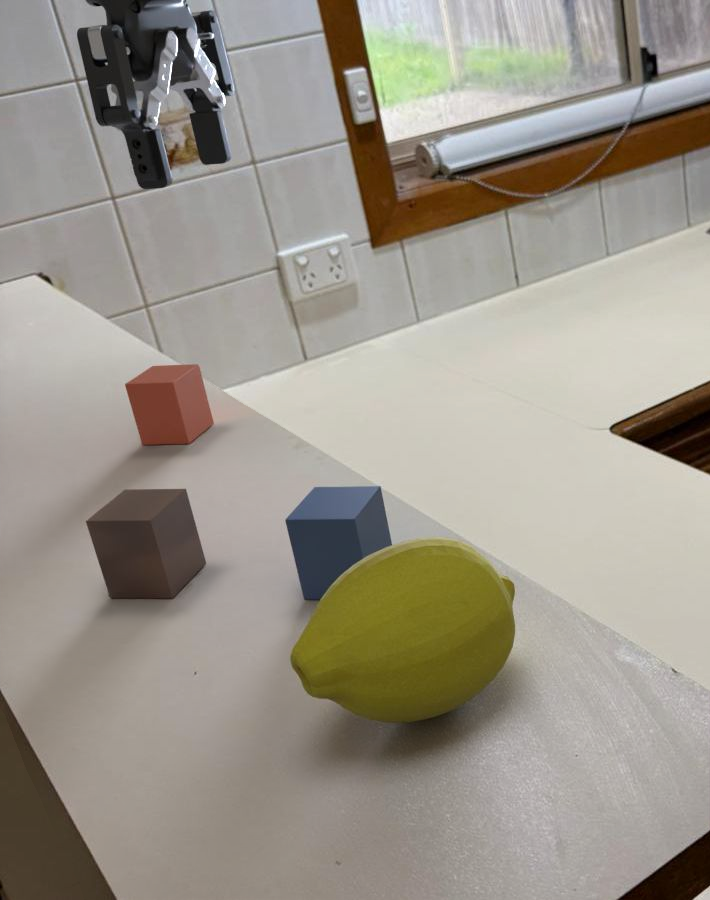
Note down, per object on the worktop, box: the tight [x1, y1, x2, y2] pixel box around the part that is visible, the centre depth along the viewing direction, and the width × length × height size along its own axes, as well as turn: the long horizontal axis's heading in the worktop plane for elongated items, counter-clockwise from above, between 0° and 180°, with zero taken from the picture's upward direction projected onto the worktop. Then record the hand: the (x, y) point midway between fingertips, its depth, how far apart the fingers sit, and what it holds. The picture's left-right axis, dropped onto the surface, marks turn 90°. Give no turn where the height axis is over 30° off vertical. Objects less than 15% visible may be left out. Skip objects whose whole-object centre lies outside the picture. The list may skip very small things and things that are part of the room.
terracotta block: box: [124, 363, 215, 446], centre depth 88 cm, size 4×4×5 cm
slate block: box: [284, 485, 393, 601], centre depth 63 cm, size 4×4×5 cm
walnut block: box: [85, 488, 207, 599], centre depth 66 cm, size 4×4×5 cm
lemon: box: [289, 536, 516, 724], centre depth 51 cm, size 11×8×8 cm
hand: (188, 174), depth 80 cm, fingers open, 8 cm apart
